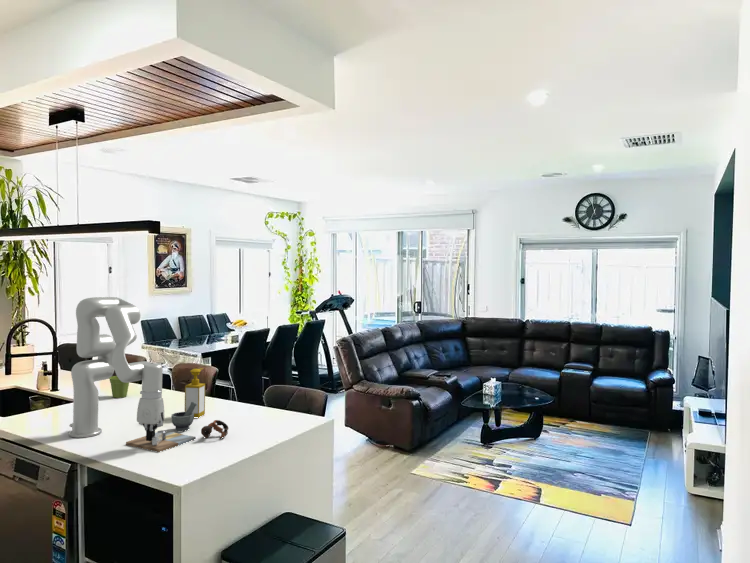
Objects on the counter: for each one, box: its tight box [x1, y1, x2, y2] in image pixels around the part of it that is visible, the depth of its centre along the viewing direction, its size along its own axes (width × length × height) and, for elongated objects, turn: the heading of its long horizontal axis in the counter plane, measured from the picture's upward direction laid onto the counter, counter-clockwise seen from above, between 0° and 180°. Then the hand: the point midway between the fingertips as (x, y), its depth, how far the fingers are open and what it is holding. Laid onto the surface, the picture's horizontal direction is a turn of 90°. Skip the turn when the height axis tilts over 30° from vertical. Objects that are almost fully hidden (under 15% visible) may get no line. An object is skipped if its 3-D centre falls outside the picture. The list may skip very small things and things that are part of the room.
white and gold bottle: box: [184, 368, 206, 419], centre depth 265 cm, size 7×13×24 cm, turn 174°
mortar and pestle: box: [171, 402, 197, 432], centre depth 239 cm, size 11×9×12 cm
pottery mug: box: [200, 419, 229, 439], centre depth 226 cm, size 12×10×8 cm
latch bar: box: [152, 429, 167, 445], centre depth 216 cm, size 11×3×3 cm, turn 6°
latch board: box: [125, 430, 196, 453], centre depth 219 cm, size 19×19×1 cm
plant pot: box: [108, 375, 130, 399], centre depth 302 cm, size 12×12×11 cm
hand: (150, 439), depth 214 cm, fingers closed
